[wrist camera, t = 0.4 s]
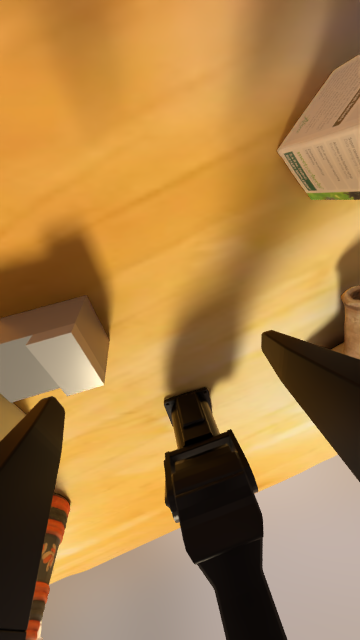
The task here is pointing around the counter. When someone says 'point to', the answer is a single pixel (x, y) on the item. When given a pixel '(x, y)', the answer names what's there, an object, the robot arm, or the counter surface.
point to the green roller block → (8, 416)
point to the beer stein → (47, 561)
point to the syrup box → (329, 138)
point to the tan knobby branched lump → (351, 323)
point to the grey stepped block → (52, 350)
